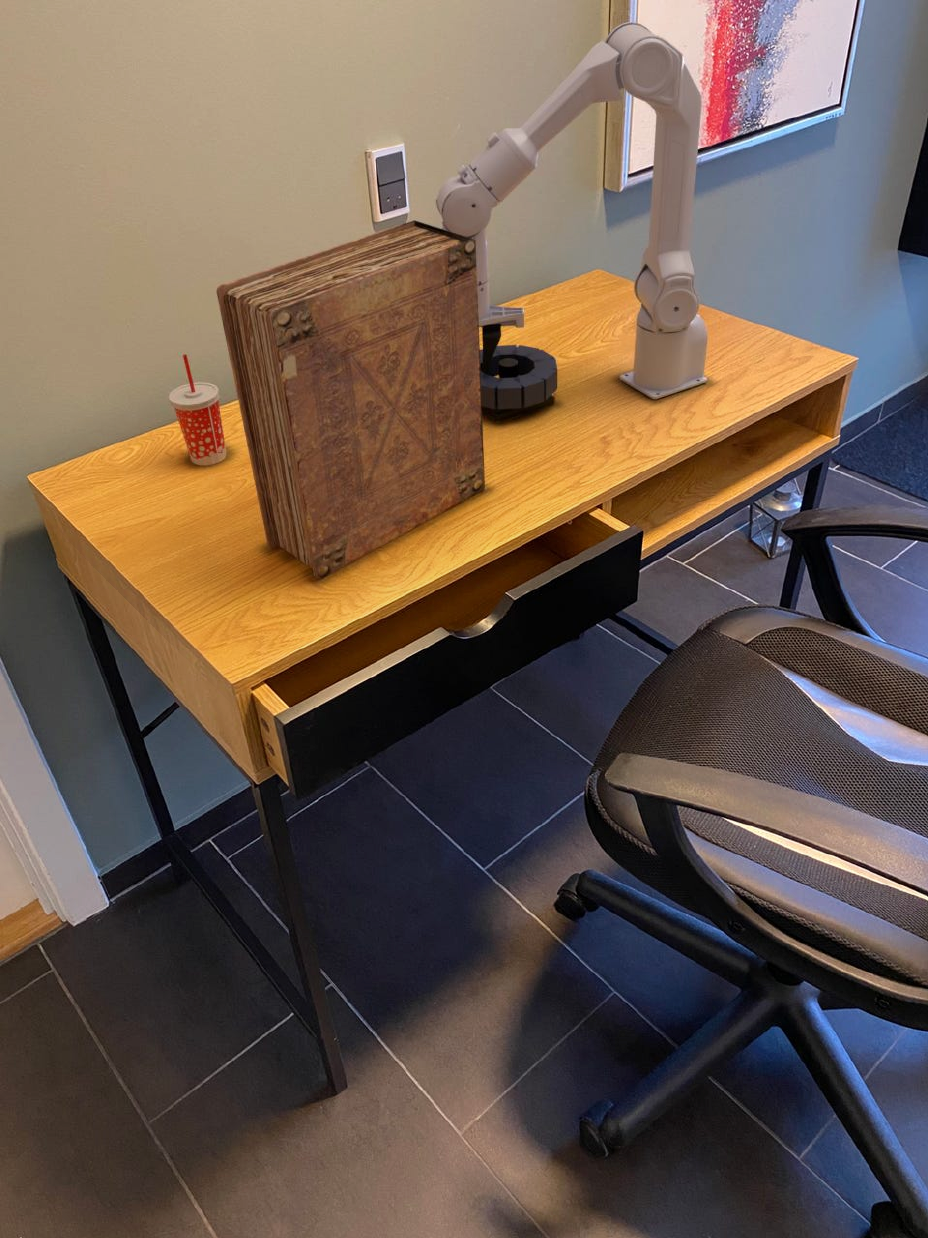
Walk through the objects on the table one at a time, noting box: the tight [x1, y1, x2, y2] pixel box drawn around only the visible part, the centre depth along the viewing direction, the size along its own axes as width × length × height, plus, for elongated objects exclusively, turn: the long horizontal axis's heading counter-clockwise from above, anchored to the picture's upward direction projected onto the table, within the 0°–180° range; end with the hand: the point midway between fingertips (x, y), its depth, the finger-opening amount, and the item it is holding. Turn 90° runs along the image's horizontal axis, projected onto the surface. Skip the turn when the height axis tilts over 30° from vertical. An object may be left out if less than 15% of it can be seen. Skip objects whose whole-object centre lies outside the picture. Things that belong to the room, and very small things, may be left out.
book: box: [215, 220, 486, 580], centre depth 107 cm, size 25×9×30 cm, turn 133°
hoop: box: [480, 344, 558, 409], centre depth 135 cm, size 13×13×3 cm
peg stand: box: [482, 358, 555, 424], centre depth 136 cm, size 9×9×6 cm
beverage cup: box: [168, 354, 228, 466], centre depth 125 cm, size 6×6×14 cm
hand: (470, 378), depth 135 cm, fingers closed on hoop, 3 cm apart
